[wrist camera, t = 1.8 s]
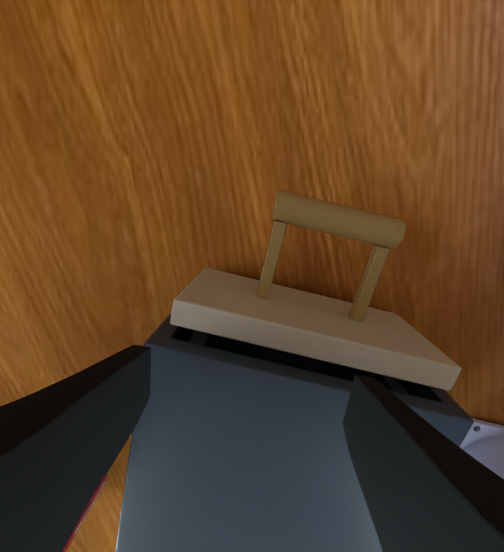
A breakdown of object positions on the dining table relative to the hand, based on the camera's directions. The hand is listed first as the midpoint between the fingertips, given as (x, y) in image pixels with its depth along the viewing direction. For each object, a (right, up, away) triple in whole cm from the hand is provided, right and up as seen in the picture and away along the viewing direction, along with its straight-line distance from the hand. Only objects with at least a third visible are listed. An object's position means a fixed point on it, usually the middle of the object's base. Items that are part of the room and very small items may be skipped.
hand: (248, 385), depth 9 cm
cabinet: (+1, -6, +11) cm, 12 cm away
